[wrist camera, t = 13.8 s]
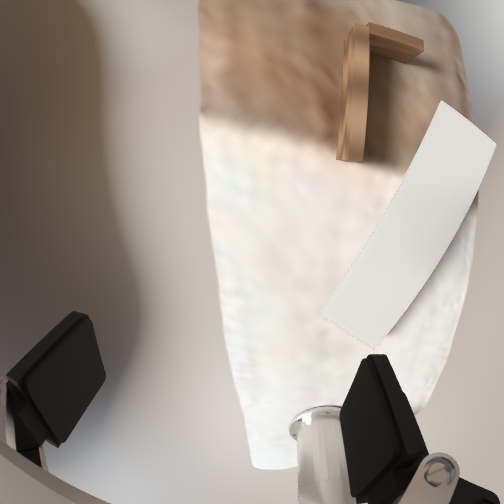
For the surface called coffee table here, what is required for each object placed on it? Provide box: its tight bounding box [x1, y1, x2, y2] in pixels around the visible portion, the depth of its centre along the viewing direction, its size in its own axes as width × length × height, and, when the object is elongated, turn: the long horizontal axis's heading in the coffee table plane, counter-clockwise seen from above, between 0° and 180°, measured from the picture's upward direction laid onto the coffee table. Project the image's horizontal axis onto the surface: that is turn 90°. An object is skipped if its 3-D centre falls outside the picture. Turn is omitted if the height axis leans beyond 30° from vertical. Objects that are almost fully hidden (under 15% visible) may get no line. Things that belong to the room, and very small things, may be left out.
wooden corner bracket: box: [336, 22, 424, 163], centre depth 27 cm, size 17×9×6 cm, turn 175°
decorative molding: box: [318, 100, 496, 350], centre depth 33 cm, size 34×5×10 cm
